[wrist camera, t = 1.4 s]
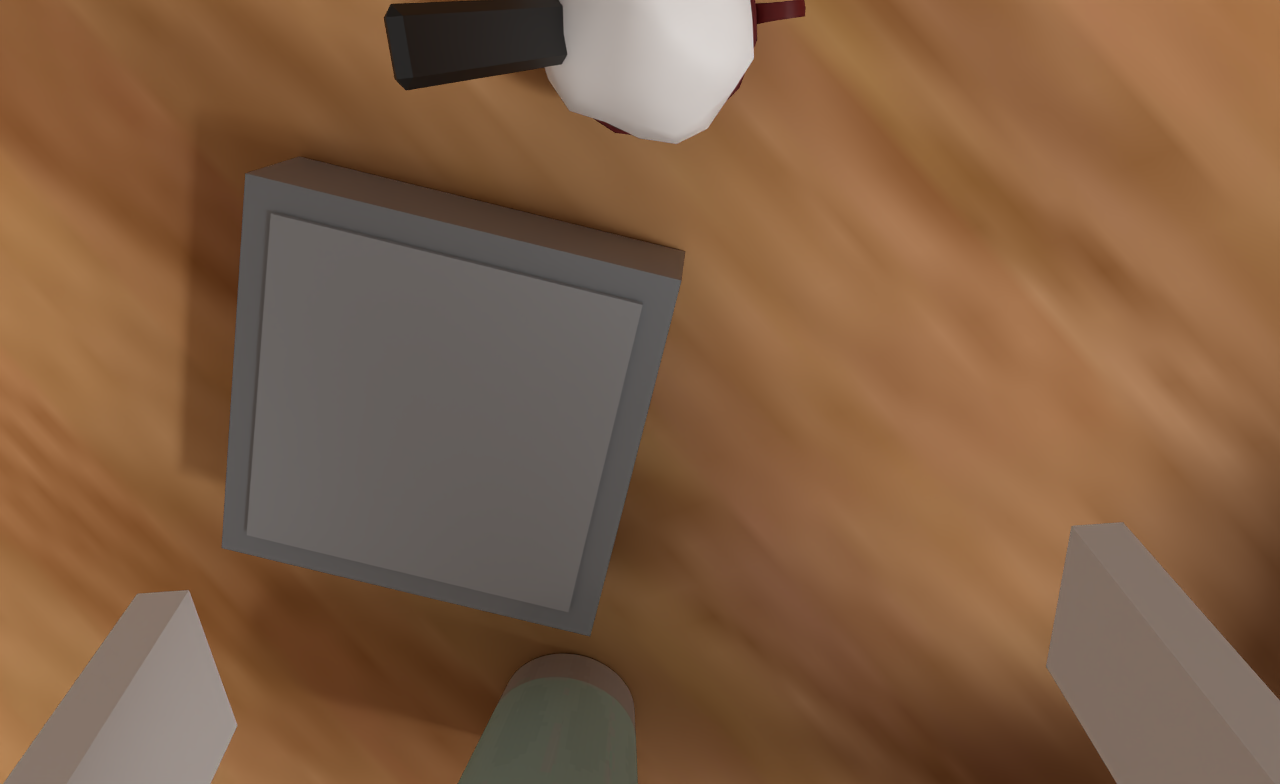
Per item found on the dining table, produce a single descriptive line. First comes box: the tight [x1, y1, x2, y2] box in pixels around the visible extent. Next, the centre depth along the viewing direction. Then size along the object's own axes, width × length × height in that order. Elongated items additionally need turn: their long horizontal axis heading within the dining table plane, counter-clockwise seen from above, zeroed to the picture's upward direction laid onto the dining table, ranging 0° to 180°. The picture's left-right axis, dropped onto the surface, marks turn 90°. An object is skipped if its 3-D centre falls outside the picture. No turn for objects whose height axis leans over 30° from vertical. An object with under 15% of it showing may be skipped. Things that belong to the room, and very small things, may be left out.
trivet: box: [222, 156, 685, 636], centre depth 33 cm, size 14×14×4 cm
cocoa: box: [384, 0, 806, 144], centre depth 24 cm, size 10×6×12 cm, turn 73°
